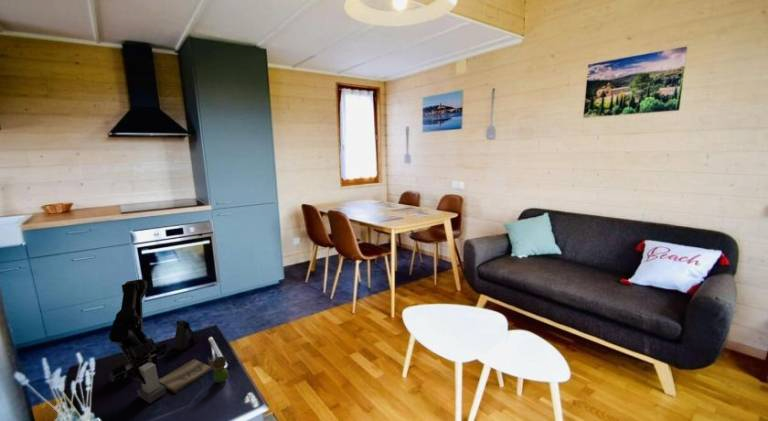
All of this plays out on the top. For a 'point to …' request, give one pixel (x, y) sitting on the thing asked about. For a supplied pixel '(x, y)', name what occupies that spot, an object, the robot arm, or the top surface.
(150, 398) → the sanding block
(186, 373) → the oak board
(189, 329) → the door stopper
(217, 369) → the snail figurine
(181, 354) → the top surface
